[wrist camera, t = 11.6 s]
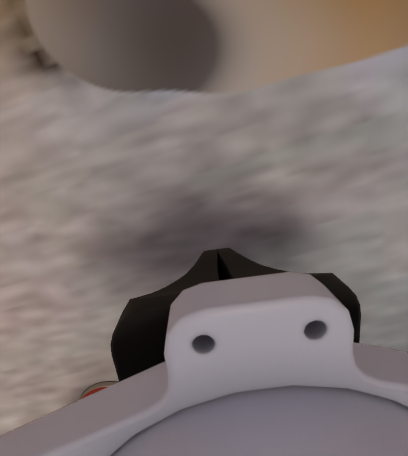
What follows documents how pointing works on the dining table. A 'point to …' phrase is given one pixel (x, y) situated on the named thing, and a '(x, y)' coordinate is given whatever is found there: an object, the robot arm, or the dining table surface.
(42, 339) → the dining table surface
